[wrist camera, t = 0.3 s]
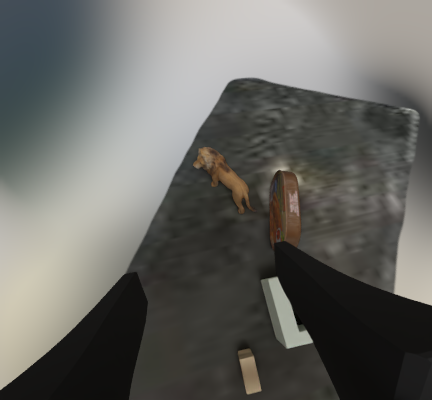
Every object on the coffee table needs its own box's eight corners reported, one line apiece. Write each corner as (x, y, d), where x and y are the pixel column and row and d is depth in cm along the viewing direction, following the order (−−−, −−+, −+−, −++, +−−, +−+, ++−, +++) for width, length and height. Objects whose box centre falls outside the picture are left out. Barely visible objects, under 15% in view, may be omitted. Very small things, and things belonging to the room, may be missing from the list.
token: (256, 378, 32) (261, 390, 29) (243, 381, 32) (247, 394, 29) (249, 348, 34) (253, 356, 30) (237, 351, 34) (239, 359, 30)
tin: (269, 182, 45) (279, 160, 37) (284, 183, 45) (298, 162, 37) (269, 255, 39) (282, 248, 31) (287, 256, 39) (304, 250, 31)
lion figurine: (193, 179, 45) (187, 155, 37) (209, 162, 47) (207, 135, 38) (248, 221, 42) (256, 206, 33) (264, 202, 43) (275, 182, 35)
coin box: (322, 326, 35) (342, 335, 29) (276, 338, 34) (287, 348, 29) (303, 270, 38) (318, 268, 33) (260, 280, 38) (267, 279, 32)
